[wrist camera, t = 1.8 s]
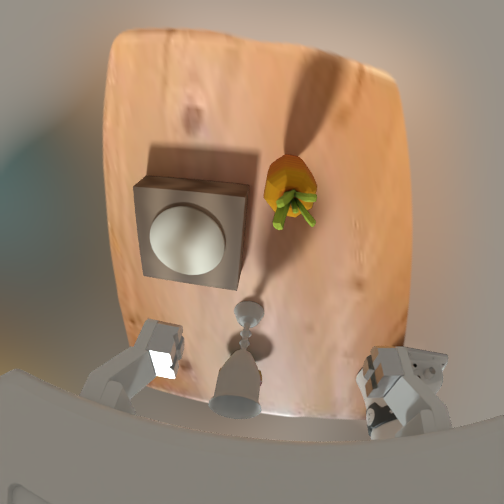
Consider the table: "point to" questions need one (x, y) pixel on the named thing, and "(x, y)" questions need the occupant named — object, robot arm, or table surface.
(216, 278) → the walnut plinth
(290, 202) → the carrot
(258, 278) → the table surface
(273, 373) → the table surface
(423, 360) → the robot arm
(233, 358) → the chalice
